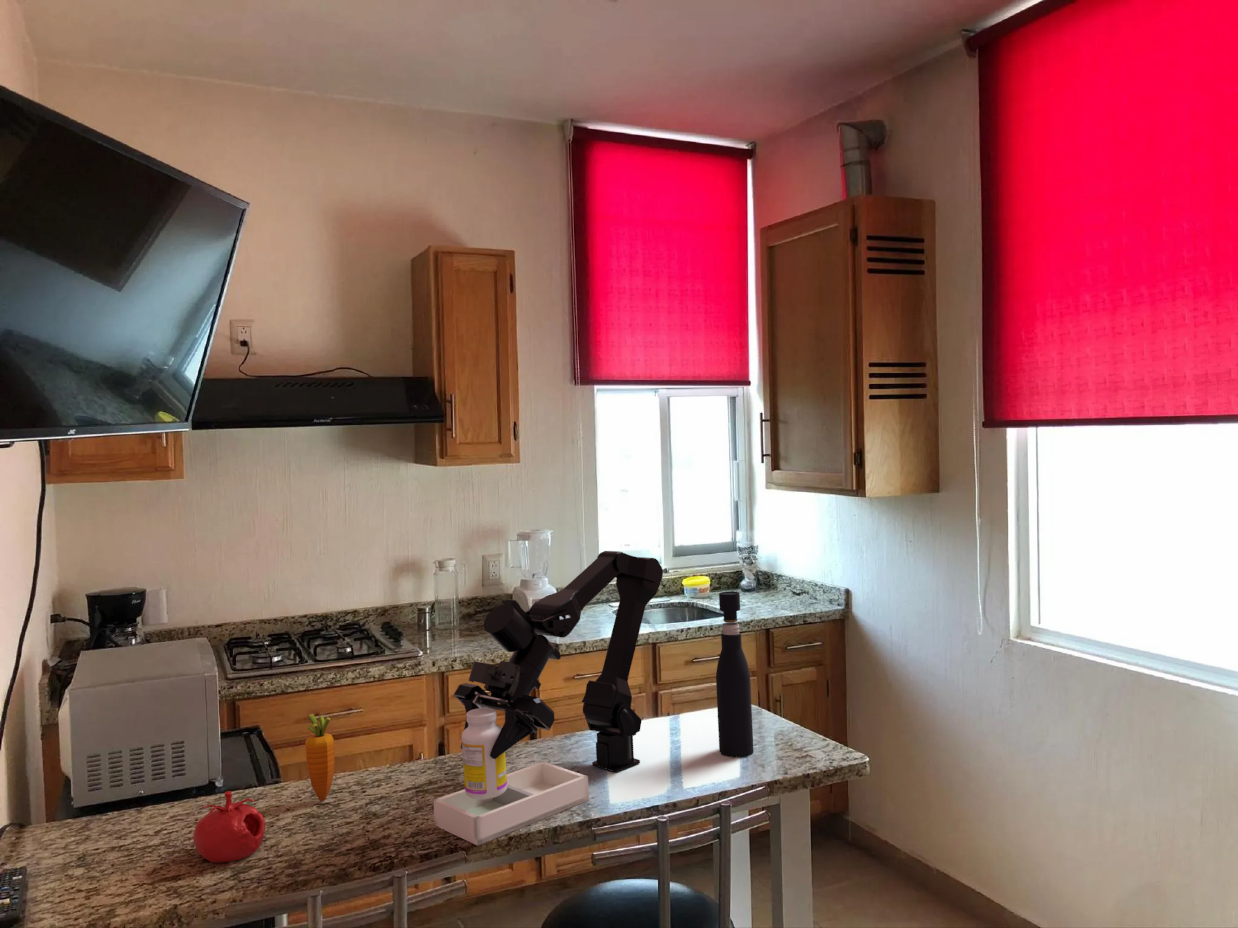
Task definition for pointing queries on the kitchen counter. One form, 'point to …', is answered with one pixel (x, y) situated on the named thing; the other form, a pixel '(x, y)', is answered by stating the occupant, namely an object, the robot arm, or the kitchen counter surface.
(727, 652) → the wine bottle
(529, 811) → the slot organizer
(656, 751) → the kitchen counter surface
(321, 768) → the carrot
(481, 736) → the supplement bottle
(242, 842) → the red tomato
